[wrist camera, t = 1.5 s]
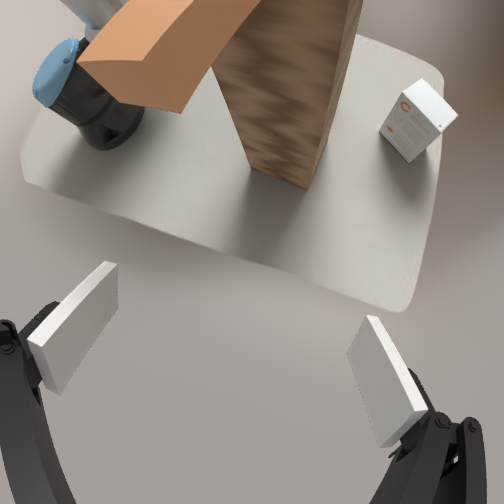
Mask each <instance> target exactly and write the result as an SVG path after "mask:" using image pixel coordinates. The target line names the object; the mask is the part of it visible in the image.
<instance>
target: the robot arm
mask: <svg viewBox="0 0 504 504" xmlns="http://www.w3.org/2000/svg"><path fill="white" fill-rule="evenodd" d="M60 1H61V2H62V3H64V4H65V5H66V6H67V7H68V8H69V9H70V10H71V11H72V12H73V13H74V14H75V15H76V16H78V17H79V18H80V19H81V20H82V21H83V22H84V23H85V24H86V27H85V37H84V38H83V39H82V40H81V41H78V40H77V39H74V38H68V39H67V40H64V41H63V42H61V43H60V44H59V45H57V46H56V47H55V48H54V49H53V50H52V51H51V53H50V54H49V55H48V56H47V58H46V59H45V60H44V62H43V63H42V65H41V66H40V68H39V70H38V72H37V74H36V76H35V79H34V82H33V95H34V97H35V98H36V99H37V100H38V101H40V102H41V103H42V104H43V105H44V106H45V107H46V108H49V109H51V110H52V111H54V112H55V113H57V114H59V115H60V116H62V117H63V118H65V119H66V120H68V121H70V122H71V123H73V124H74V125H76V126H77V127H78V129H79V131H80V132H81V134H82V136H83V137H84V139H85V141H86V142H87V143H88V144H89V145H91V146H92V147H94V148H96V149H98V150H108V149H112V148H114V147H116V146H118V145H120V144H121V143H123V142H124V141H125V140H126V139H128V138H129V137H130V136H131V135H132V133H133V132H134V131H135V130H136V128H137V127H138V125H139V123H140V121H141V119H142V116H143V113H144V106H138V105H132V104H126V103H119V102H118V101H117V100H116V99H115V98H114V97H113V96H112V95H111V94H110V93H109V92H108V91H107V90H106V89H105V88H104V87H102V86H101V85H100V84H99V83H98V82H97V81H96V80H95V79H94V78H93V77H92V76H91V75H90V74H89V73H88V72H87V71H85V70H84V69H83V68H82V67H81V66H80V65H79V64H78V63H77V62H76V61H77V60H78V59H79V57H80V56H81V55H82V53H83V52H84V51H85V49H86V48H87V47H88V45H89V44H90V43H91V42H92V40H93V39H94V38H95V37H96V36H97V34H98V33H99V32H100V31H101V30H102V29H103V27H104V26H105V25H106V24H107V23H108V22H109V21H110V20H111V19H112V18H113V16H114V15H115V14H116V13H117V12H118V11H119V10H120V9H121V8H122V7H123V6H124V5H125V4H126V3H127V2H128V1H129V0H60ZM117 268H118V267H117V264H115V263H111V262H107V261H104V262H103V263H102V264H101V265H100V266H99V267H98V268H96V269H95V270H94V271H93V272H92V273H91V274H90V275H89V276H88V277H87V278H86V279H85V280H84V281H83V282H81V283H80V284H79V285H78V286H77V287H76V288H75V289H74V290H73V291H72V292H71V293H70V294H69V295H68V296H67V297H66V298H65V299H64V300H63V301H62V302H61V303H59V302H56V301H54V302H52V303H50V304H48V305H46V306H45V307H44V308H43V309H42V310H41V311H40V312H39V314H37V315H36V316H35V317H34V319H32V320H31V321H30V322H29V323H28V324H27V325H26V326H25V327H24V329H22V330H21V332H19V334H18V333H17V330H16V327H15V324H14V323H13V322H12V321H9V320H4V319H3V320H0V447H1V452H2V456H3V461H4V466H5V470H6V474H7V477H8V481H9V485H10V488H11V491H12V494H13V497H14V500H15V503H16V504H76V502H75V499H74V497H73V495H72V493H71V491H70V488H69V486H68V484H67V481H66V479H65V476H64V474H63V471H62V468H61V466H60V463H59V460H58V457H57V455H56V451H55V448H54V445H53V442H52V438H51V435H50V431H49V427H48V424H47V420H46V416H45V412H44V407H43V402H42V397H41V393H40V388H39V386H38V385H39V383H40V382H41V380H43V383H44V385H45V387H46V389H48V390H50V391H52V392H54V393H56V394H58V395H61V394H62V392H63V390H64V389H65V387H66V385H67V384H68V382H69V381H70V379H71V378H72V376H73V374H74V373H75V371H76V370H77V368H78V367H79V365H80V363H81V362H82V360H83V359H84V357H85V356H86V354H87V353H88V351H89V350H90V348H91V347H92V345H93V344H94V342H95V341H96V339H97V338H98V337H99V335H100V334H101V332H102V331H103V329H104V328H105V326H106V325H107V324H108V322H109V321H110V319H111V318H112V317H113V315H114V314H115V312H116V311H117V310H118V283H117V282H118V281H117V280H118V275H117V270H118V269H117ZM347 356H348V359H349V361H350V364H351V367H352V370H353V372H354V375H355V378H356V381H357V384H358V387H359V390H360V393H361V396H362V398H363V401H364V404H365V407H366V410H367V413H368V417H369V420H370V423H371V426H372V429H373V432H374V435H375V439H376V442H377V445H378V448H385V447H391V446H393V445H394V444H395V443H396V442H397V441H398V440H399V439H400V441H401V445H400V446H399V447H398V448H397V449H396V450H395V451H394V452H393V453H392V454H390V455H389V457H388V458H391V457H392V456H393V455H395V456H394V458H393V460H392V462H391V464H390V466H389V468H388V470H387V472H386V474H385V476H384V478H383V480H382V482H381V484H380V486H379V488H378V489H377V491H376V493H375V495H374V496H373V498H372V500H371V502H370V503H369V504H487V479H486V462H485V451H484V442H483V435H482V429H481V425H480V424H479V422H478V421H477V420H476V419H475V418H472V417H467V418H465V420H463V421H462V422H461V423H460V424H458V423H452V422H451V420H450V419H449V418H448V416H447V415H445V414H444V413H441V412H436V411H435V409H434V407H433V406H432V404H431V402H430V400H429V398H428V396H427V394H426V392H425V391H424V388H423V386H422V385H421V382H420V381H419V379H418V377H417V375H416V374H415V373H414V372H413V371H412V370H411V369H409V368H407V367H406V365H405V364H404V362H403V360H402V358H401V356H400V354H399V353H398V351H397V349H396V347H395V346H394V344H393V342H392V340H391V339H390V337H389V335H388V334H387V332H386V330H385V329H384V327H383V325H382V323H381V322H380V320H379V318H378V317H376V316H369V315H366V316H365V318H364V320H363V322H362V324H361V326H360V328H359V330H358V332H357V334H356V336H355V338H354V340H353V342H352V344H351V346H350V348H349V349H348V351H347ZM456 456H458V461H457V462H456V463H454V458H455V457H456Z"/></svg>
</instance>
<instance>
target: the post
mask: <svg viewBox="0 0 504 504" xmlns="http://www.w3.org/2000/svg"><path fill="white" fill-rule="evenodd" d="M362 4H363V0H261V1H260V2H259V3H258V4H257V6H256V7H255V8H254V9H253V10H252V11H251V13H250V14H249V15H248V16H247V18H246V19H245V20H244V21H243V23H242V24H241V25H240V26H239V28H238V29H237V30H236V32H235V33H234V34H233V35H232V37H231V38H230V39H229V41H228V42H227V44H226V45H225V46H224V48H223V49H222V50H221V52H220V53H219V55H218V56H217V58H216V59H215V60H214V62H213V63H212V65H211V67H212V69H213V72H214V74H215V76H216V79H217V81H218V84H219V86H220V89H221V91H222V94H223V96H224V99H225V101H226V104H227V107H228V109H229V112H230V114H231V117H232V119H233V122H234V124H235V127H236V130H237V132H238V135H239V137H240V140H241V143H242V145H243V148H244V151H245V153H246V156H247V159H248V161H249V164H250V167H251V168H253V169H255V170H258V171H261V172H264V173H266V174H269V175H272V176H274V177H277V178H280V179H282V180H285V181H288V182H290V183H293V184H295V185H298V186H300V187H303V188H305V189H308V188H309V185H310V183H311V180H312V178H313V175H314V173H315V170H316V168H317V165H318V163H319V160H320V157H321V155H322V152H323V150H324V147H325V145H326V142H327V139H328V136H329V133H330V129H331V126H332V122H333V119H334V115H335V112H336V108H337V104H338V101H339V97H340V94H341V90H342V86H343V82H344V79H345V75H346V71H347V67H348V63H349V59H350V55H351V51H352V47H353V43H354V39H355V35H356V31H357V26H358V22H359V17H360V13H361V9H362Z"/></svg>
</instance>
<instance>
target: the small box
mask: <svg viewBox="0 0 504 504" xmlns="http://www.w3.org/2000/svg"><path fill="white" fill-rule="evenodd" d="M457 116H458V114H457V113H456V112H455V111H454V110H453V109H452V108H451V107H450V106H449V105H448V104H447V102H446V101H445V100H444V99H443V98H442V97H441V96H440V95H439V94H438V93H437V92H436V91H435V90H434V89H433V88H432V87H431V86H430V85H429V84H428V83H427V82H426V81H425V80H424V79H423V78H422V79H420V80H419V81H417V82H416V83H414V84H413V85H411V86H410V87H408V88H407V89H405V90H404V91H402V93H401V95H400V97H399V98H398V100H397V102H396V103H395V105H394V107H393V108H392V110H391V112H390V113H389V115H388V117H387V118H386V120H385V122H384V123H383V125H382V126H381V128H380V130H379V132H380V133H382V135H383V136H384V137H385V138H386V139H387V140H388V141H389V142H390V143H391V144H392V145H393V146H394V147H395V148H396V149H397V151H398V152H399V153H400V154H401V155H402V156H403V157H404V158H405V160H406V161H407V162H408V163H410V162H411V161H412V160H413V159H414V158H415V157H417V156H418V155H419V154H420V153H421V152H422V151H423V150H424V149H425V148H427V147H428V146H429V145H430V144H431V143H432V142H433V141H434V140H435V139H436V138H437V137H438V136H439V135H440V134H441V133H442V132H443V131H444V130H445V129H446V128H447V127H448V126H449V125H450V124H451V122H453V120H454V119H455V118H456V117H457Z"/></svg>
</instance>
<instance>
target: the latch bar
mask: <svg viewBox="0 0 504 504" xmlns="http://www.w3.org/2000/svg"><path fill="white" fill-rule="evenodd" d="M260 1H261V0H129V1H128V2H127V3H126V4H125V5H124V6H123V7H122V8H121V9H120V10H119V11H118V12H117V13H116V14H115V15H114V16H113V18H112V19H111V20H110V21H109V22H108V23H107V24H106V25H105V26H104V27H103V29H102V30H101V31H100V32H99V33H98V34H97V36H96V37H95V38H94V39H93V40H92V42H91V43H90V44H89V45H88V47H87V48H86V49H85V51H84V52H83V53H82V55H81V56H80V57H79V59H78V60H77V61H76V62H77V63H78V64H79V65H80V66H81V67H82V68H83V69H84V70H85V71H87V72H88V73H89V74H90V75H91V76H92V77H93V78H94V79H95V80H96V81H97V82H98V83H99V84H100V85H101V86H102V87H104V88H105V89H106V90H107V91H108V92H109V93H110V94H111V95H112V96H113V97H114V98H115V99H116V100H117V101H118V102H119V103H126V104H132V105H138V106H144V107H149V108H155V109H160V110H165V111H169V112H174V113H179V114H181V113H182V111H183V109H184V108H185V106H186V104H187V103H188V101H189V99H190V98H191V96H192V94H193V93H194V91H195V89H196V88H197V86H198V85H199V83H200V82H201V80H202V78H203V77H204V75H205V74H206V72H207V71H208V69H209V68H210V66H211V65H212V63H213V62H214V60H215V59H216V58H217V56H218V55H219V53H220V52H221V50H222V49H223V48H224V46H225V45H226V44H227V42H228V41H229V39H230V38H231V37H232V35H233V34H234V33H235V32H236V30H237V29H238V28H239V26H240V25H241V24H242V23H243V21H244V20H245V19H246V18H247V16H248V15H249V14H250V13H251V11H252V10H253V9H254V8H255V7H256V6H257V4H258V3H259V2H260Z"/></svg>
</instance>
